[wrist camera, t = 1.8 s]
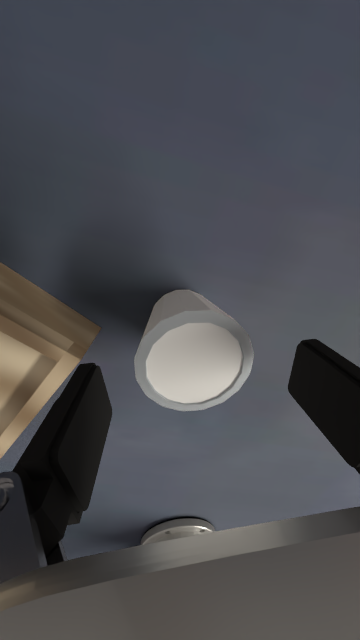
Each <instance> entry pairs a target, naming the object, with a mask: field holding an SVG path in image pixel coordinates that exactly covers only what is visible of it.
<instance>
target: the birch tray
mask: <svg viewBox="0 0 360 640" xmlns="http://www.w3.org/2000/svg"><path fill="white" fill-rule="evenodd" d="M100 330H101V327H99V326H98V325H96V324H95V323H93V322H91V321H90V320H88V319H87V318H85V317H84V316H82V315H81V314H79V313H78V312H76V311H75V310H73V309H71V308H70V307H68V306H67V305H65V304H64V303H62V302H61V301H59V300H58V299H56V298H55V297H53V296H51V295H50V294H48V293H47V292H45V291H44V290H42V289H41V288H39V287H38V286H36V285H35V284H33V283H31V282H30V281H28V280H27V279H25V278H24V277H22V276H21V275H19V274H18V273H16V272H15V271H13V270H11V269H10V268H8V267H7V266H5V265H4V264H2V263H1V262H0V459H1V457H2V456H3V455H4V454H5V452H6V451H7V450H8V449H9V447H10V446H11V445H12V444H13V443H14V441H15V440H16V439H17V438H18V436H19V435H20V434H21V433H22V432H23V430H24V429H25V428H26V427H27V425H28V424H29V423H30V422H31V420H32V419H33V418H34V417H35V416H36V414H37V413H38V412H39V411H40V409H41V408H42V407H43V406H44V405H45V403H46V402H47V401H48V400H49V398H50V397H51V396H52V395H53V393H54V392H55V391H56V390H57V389H58V387H59V386H60V385H61V384H62V382H63V381H64V380H65V379H66V378H67V376H68V375H69V374H70V373H71V371H72V370H73V369H74V368H75V366H76V365H77V364H78V363H79V362H80V360H81V359H82V357H83V356H84V354H85V353H86V351H87V350H88V348H89V347H90V345H91V343H92V342H93V340H94V339H95V337H96V336H97V334H98V333H99V331H100Z"/></svg>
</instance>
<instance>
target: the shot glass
mask: <svg viewBox="0 0 360 640" xmlns="http://www.w3.org/2000/svg"><path fill="white" fill-rule="evenodd" d="M253 357H254V352H253V348H252V345H251V341H250V337H249V335H248V334H247V332H246V331H245V330H244V329H243V328H242V327H241V326H240V325H239V324H238V323H237V322H236V321H235V319H233V318H232V317H231V316H229V315H228V314H226V313H225V312H224V311H222V310H221V309H220V308H218V307H217V306H216V305H214V304H213V303H211V302H210V301H209V300H207V299H206V298H205V297H203V296H202V295H200V294H198V293H196V292H193V291H191V290H175V291H172V292H170V293H167V294H165V295H163V296H162V297H161V298H160V299H159V300H158V301H157V302H156V303H155V305H154V308H153V310H152V313H151V315H150V318H149V321H148V323H147V326H146V329H145V331H144V334H143V337H142V339H141V342H140V345H139V347H138V350H137V353H136V355H135V358H134V363H135V375H136V380H137V382H138V383H139V385H140V387H141V388H142V390H143V391H144V393H145V395H146V396H148V397H149V398H151V399H152V400H154V401H155V402H157V403H158V404H160V405H161V406H163V407H167V408H171V409H175V410H179V411H192V410H204V409H206V408H209V407H212V406H214V405H217V404H220V403H222V402H224V401H225V400H227V399H228V398H229V397H230V396H232V395H233V394H234V393H236V392H237V391H238V390H239V389H240V388H241V386H242V385H243V383H244V382H245V380H246V379H247V377H248V376H249V374H250V372H251V367H252V362H253Z"/></svg>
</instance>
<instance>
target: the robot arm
mask: <svg viewBox="0 0 360 640" xmlns="http://www.w3.org/2000/svg"><path fill="white" fill-rule="evenodd" d="M288 390H289V393H290V394H291V395H292V397H293V398H294V399H295V400H296V402H297V403H298V404H299V405H300V406H301V408H302V409H303V410H304V411H305V412H306V414H307V415H308V416H309V417H310V419H311V420H312V421H313V422H314V423H315V425H316V426H317V427H318V428H319V429H320V431H321V432H322V433H323V434H324V435H325V437H326V438H327V439H328V440H329V442H330V443H331V444H332V445H333V446H334V448H335V449H336V450H337V451H338V452H339V454H340V455H341V456H342V457H343V458H344V460H345V461H346V462H347V463H348V464H349V465H350V466H351V467H354V468H355V469H356V470H357V472H358V473H359V474H360V368H359V367H358V366H356V365H355V364H353V363H352V362H350V361H349V360H347V359H346V358H344V357H343V356H341V355H340V354H338V353H337V352H335V351H334V350H332V349H331V348H329V347H328V346H326V345H325V344H323V343H322V342H320V341H319V340H317V339H310V340H303V341H301V342H300V344H298V346H297V349H296V354H295V358H294V362H293V367H292V371H291V375H290V380H289V384H288ZM111 417H112V407H111V404H110V400H109V397H108V393H107V390H106V386H105V383H104V379H103V376H102V372H101V369H100V367H99V366H96V365H95V363H87V364H80V365H79V366H78V368H77V369H76V371H75V372H74V374H73V376H72V377H71V379H70V381H69V382H68V384H67V386H66V387H65V389H64V391H63V392H62V394H61V395H60V397H59V398H58V399H57V400H56V401H55V403H54V404H53V406H52V408H51V409H50V411H49V413H48V414H47V416H46V417H45V419H44V421H43V422H42V424H41V425H40V427H39V429H38V430H37V432H36V434H35V435H34V437H33V438H32V440H31V442H30V443H29V445H28V447H27V448H26V450H25V451H24V453H23V455H22V456H21V458H20V460H19V461H18V463H17V464H16V466H15V468H14V469H13V471H11V472H2V473H0V640H360V507H354V508H348V509H342V510H336V511H330V512H325V513H319V514H313V515H307V516H302V517H296V518H290V519H284V520H279V521H273V522H267V523H262V524H256V525H250V526H245V527H239V528H233V529H228V530H222V531H217V532H215V528H214V527H213V526H212V525H211V524H210V523H208V522H207V521H204V520H200V519H194V518H182V519H175V520H171V521H167V522H164V523H161V524H159V525H157V526H155V527H153V528H151V529H150V530H149V531H147V532H146V533H145V535H144V536H143V537H142V539H141V545H139V546H134V547H129V548H125V549H120V550H115V551H110V552H105V553H100V554H95V555H90V556H85V557H80V558H76V559H71V560H68V561H67V557H66V554H65V551H64V548H63V545H62V542H61V539H62V538H63V536H64V533H65V530H66V527H67V525H71V524H77V523H80V519H81V516H82V512H83V511H85V510H87V508H88V506H89V503H90V499H91V495H92V491H93V487H94V484H95V480H96V476H97V472H98V468H99V464H100V460H101V456H102V452H103V448H104V445H105V441H106V437H107V433H108V429H109V425H110V421H111Z"/></svg>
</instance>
